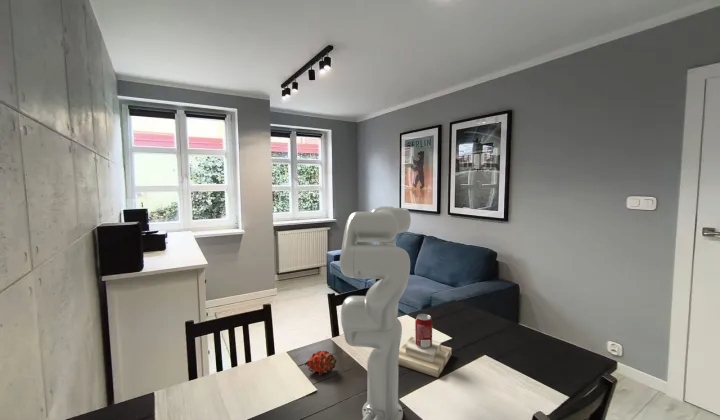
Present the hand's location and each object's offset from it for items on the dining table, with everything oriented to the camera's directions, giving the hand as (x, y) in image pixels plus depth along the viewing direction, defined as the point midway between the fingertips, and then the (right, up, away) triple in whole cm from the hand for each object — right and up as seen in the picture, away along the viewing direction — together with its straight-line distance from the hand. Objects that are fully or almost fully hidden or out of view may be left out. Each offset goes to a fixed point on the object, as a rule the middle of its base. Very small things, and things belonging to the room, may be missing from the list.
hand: (385, 281), depth 122 cm
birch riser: (+16, -33, +6) cm, 37 cm away
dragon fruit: (-25, -34, -3) cm, 42 cm away
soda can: (+16, -27, +5) cm, 32 cm away
